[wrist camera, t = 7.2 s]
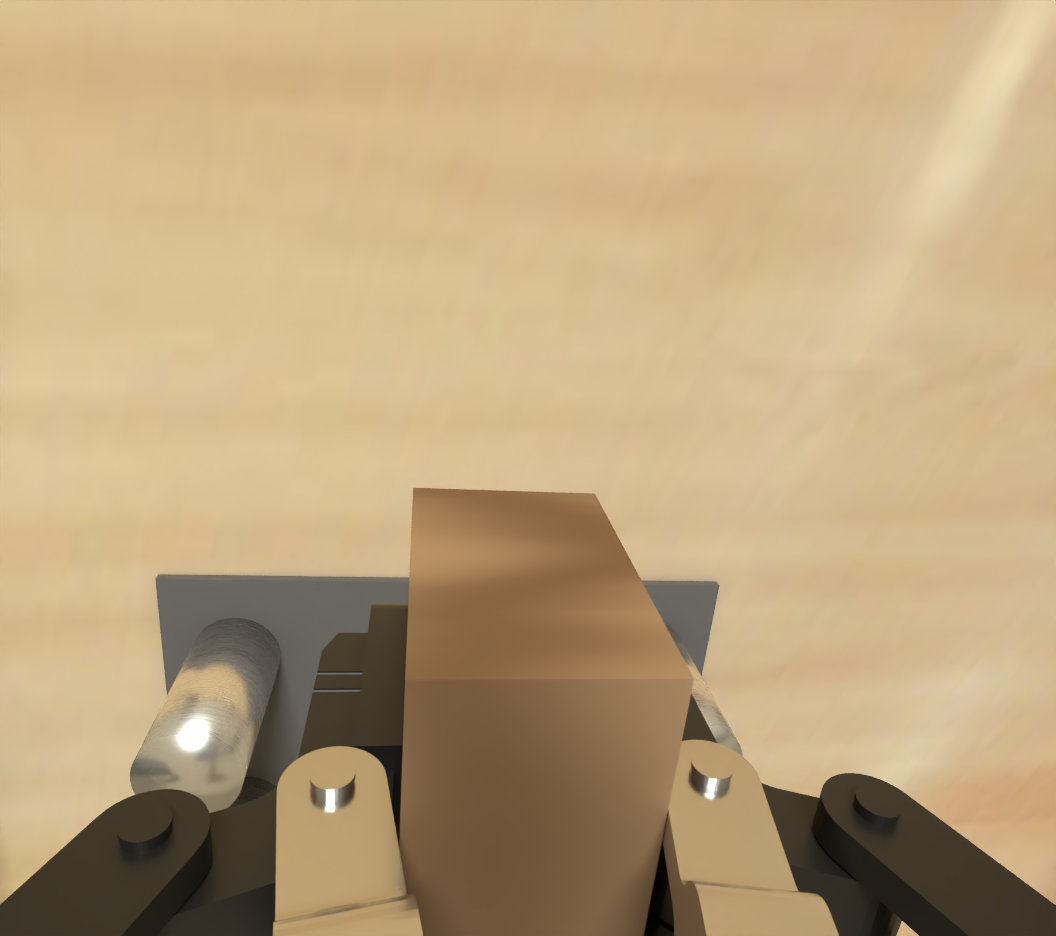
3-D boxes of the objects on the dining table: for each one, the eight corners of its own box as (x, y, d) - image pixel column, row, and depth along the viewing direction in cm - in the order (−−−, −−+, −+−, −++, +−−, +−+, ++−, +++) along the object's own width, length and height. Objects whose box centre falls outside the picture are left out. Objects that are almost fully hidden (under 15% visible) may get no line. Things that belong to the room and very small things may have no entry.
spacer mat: (716, 581, 28) (719, 585, 28) (643, 954, 35) (645, 961, 35) (158, 574, 25) (155, 578, 25) (198, 983, 32) (196, 990, 32)
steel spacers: (687, 619, 28) (750, 725, 23) (629, 939, 34) (668, 1085, 29) (190, 617, 26) (124, 736, 20) (219, 963, 32) (174, 1130, 26)
